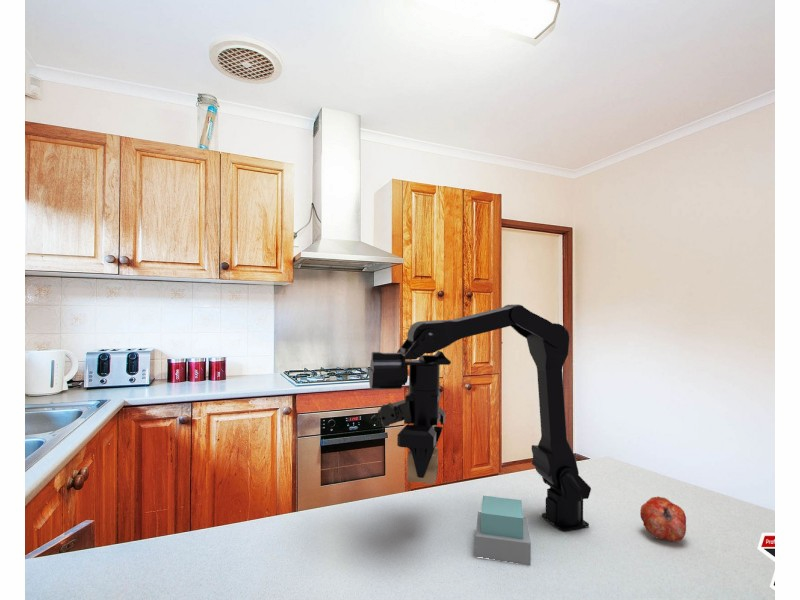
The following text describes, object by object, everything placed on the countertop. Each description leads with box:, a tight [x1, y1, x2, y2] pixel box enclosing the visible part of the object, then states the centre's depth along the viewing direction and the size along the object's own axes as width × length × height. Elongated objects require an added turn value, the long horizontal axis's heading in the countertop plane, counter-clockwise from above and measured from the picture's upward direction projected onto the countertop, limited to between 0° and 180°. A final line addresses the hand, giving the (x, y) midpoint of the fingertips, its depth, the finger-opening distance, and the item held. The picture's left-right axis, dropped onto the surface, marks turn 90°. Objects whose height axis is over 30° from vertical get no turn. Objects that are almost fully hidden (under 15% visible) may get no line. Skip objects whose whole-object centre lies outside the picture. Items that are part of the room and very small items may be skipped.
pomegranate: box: [639, 496, 687, 543], centre depth 79 cm, size 7×7×10 cm
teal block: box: [480, 495, 524, 539], centre depth 75 cm, size 7×7×4 cm
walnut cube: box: [406, 446, 439, 485], centre depth 79 cm, size 5×5×5 cm
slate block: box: [474, 511, 532, 566], centre depth 75 cm, size 9×9×4 cm
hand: (423, 471), depth 79 cm, fingers closed on walnut cube, 5 cm apart
